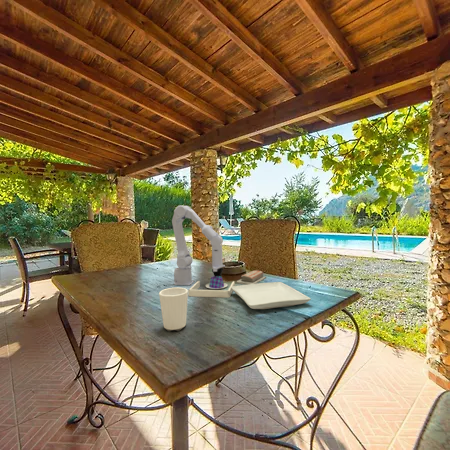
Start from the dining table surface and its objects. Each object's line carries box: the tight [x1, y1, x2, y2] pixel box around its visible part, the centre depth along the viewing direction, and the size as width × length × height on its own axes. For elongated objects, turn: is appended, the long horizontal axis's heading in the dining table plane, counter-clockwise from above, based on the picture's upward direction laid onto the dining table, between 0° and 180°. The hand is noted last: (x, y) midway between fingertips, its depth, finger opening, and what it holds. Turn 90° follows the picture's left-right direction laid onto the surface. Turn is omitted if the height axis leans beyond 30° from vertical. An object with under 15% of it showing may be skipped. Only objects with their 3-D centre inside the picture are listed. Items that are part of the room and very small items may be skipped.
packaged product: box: [236, 270, 267, 285], centre depth 149 cm, size 18×5×10 cm
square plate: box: [231, 281, 312, 310], centre depth 116 cm, size 27×27×4 cm
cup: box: [158, 286, 189, 333], centre depth 90 cm, size 10×10×13 cm
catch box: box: [187, 280, 236, 299], centre depth 130 cm, size 20×17×3 cm
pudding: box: [205, 275, 228, 290], centre depth 138 cm, size 12×12×5 cm
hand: (218, 281), depth 143 cm, fingers closed
